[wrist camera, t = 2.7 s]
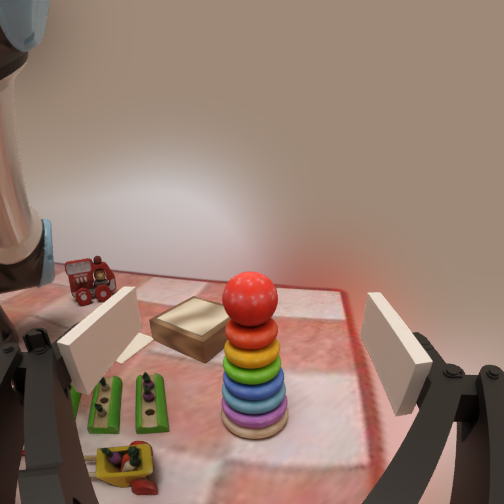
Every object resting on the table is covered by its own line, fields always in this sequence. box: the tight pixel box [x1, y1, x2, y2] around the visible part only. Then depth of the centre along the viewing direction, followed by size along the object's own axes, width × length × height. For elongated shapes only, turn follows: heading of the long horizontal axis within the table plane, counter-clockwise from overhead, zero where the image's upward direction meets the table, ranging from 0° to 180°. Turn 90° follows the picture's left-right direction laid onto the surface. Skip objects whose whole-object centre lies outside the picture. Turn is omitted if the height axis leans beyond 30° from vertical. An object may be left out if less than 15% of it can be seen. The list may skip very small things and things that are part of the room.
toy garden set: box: [22, 372, 169, 495], centre depth 24 cm, size 23×19×5 cm
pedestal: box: [149, 296, 231, 363], centre depth 48 cm, size 12×12×4 cm
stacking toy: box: [221, 272, 288, 439], centre depth 28 cm, size 8×8×19 cm
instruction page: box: [115, 333, 154, 365], centre depth 45 cm, size 12×9×1 cm
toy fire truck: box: [65, 256, 116, 305], centre depth 60 cm, size 7×12×10 cm, turn 124°
